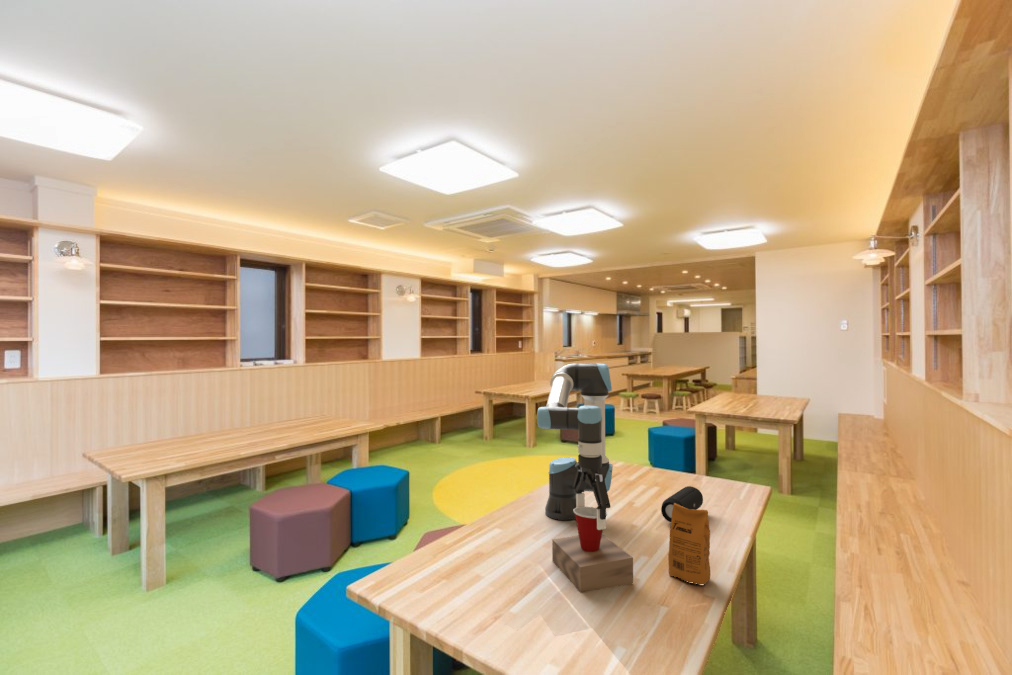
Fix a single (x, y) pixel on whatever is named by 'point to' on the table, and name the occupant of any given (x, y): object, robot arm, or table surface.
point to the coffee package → (689, 545)
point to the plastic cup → (588, 528)
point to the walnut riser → (592, 564)
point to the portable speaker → (682, 501)
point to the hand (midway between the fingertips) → (590, 520)
